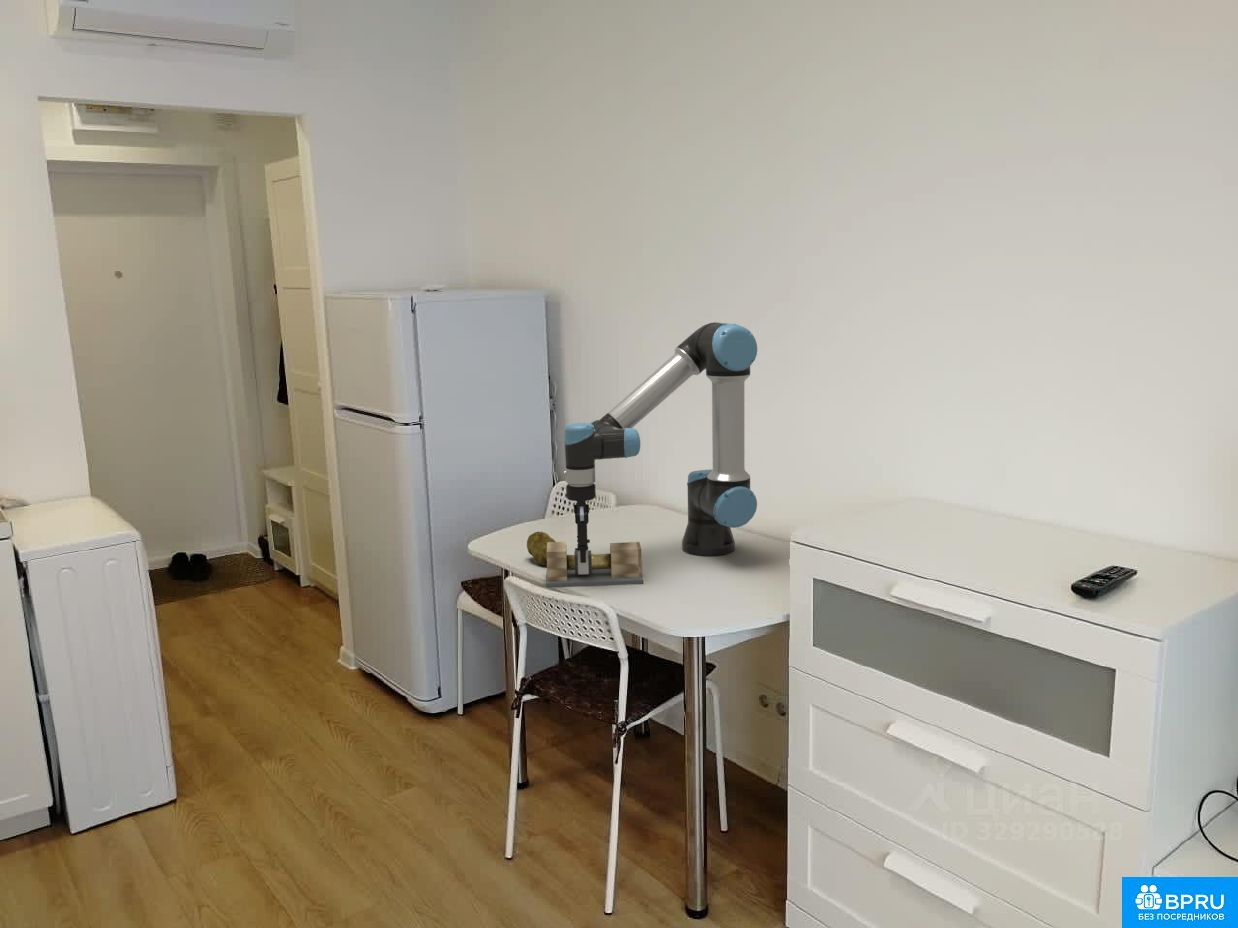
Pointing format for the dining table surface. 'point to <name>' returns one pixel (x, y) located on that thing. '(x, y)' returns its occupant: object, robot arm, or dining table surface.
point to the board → (593, 579)
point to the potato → (539, 546)
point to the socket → (556, 561)
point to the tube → (589, 561)
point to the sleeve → (626, 560)
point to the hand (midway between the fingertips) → (583, 570)
